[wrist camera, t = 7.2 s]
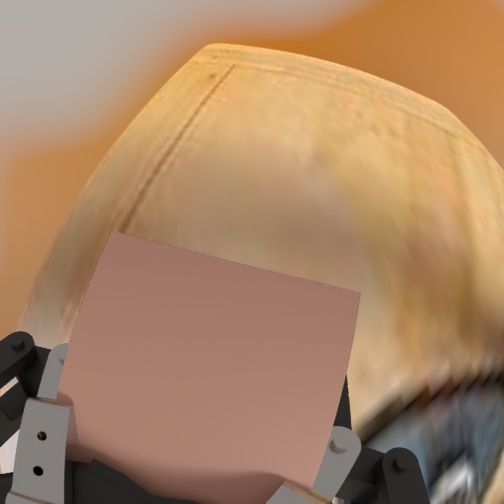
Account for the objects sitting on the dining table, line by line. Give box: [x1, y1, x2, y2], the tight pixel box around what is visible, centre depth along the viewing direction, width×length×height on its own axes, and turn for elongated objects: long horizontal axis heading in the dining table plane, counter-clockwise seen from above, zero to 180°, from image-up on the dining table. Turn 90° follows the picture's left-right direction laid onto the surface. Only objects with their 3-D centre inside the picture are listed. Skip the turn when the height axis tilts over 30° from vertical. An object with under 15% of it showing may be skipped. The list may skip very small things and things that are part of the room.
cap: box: [56, 231, 360, 504], centre depth 9 cm, size 6×6×8 cm
